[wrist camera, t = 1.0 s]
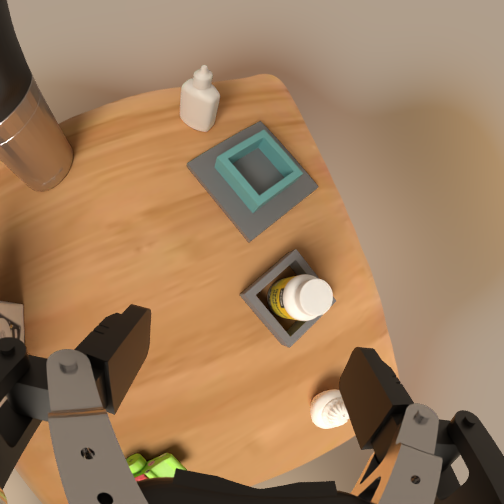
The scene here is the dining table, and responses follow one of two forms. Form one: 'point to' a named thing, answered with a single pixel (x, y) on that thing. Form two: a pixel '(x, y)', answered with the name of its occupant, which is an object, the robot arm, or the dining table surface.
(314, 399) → the white ribbed rounded piece
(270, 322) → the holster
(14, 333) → the hard drive box
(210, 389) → the dining table surface
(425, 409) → the robot arm
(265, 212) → the port
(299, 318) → the supplement bottle
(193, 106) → the eye dropper bottle
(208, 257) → the dining table surface
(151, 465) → the toy crocodile
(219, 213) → the dining table surface
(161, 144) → the dining table surface
